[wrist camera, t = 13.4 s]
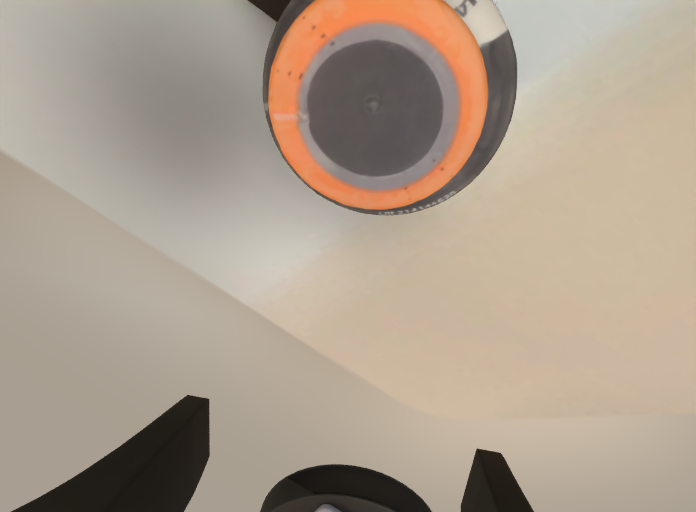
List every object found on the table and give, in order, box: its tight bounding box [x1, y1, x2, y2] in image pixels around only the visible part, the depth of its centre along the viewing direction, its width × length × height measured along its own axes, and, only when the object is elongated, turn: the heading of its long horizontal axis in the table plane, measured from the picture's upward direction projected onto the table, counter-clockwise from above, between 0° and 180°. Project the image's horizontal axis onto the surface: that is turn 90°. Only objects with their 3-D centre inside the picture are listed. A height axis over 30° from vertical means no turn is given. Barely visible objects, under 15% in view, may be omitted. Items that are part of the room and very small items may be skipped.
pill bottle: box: [263, 0, 517, 215], centre depth 14 cm, size 6×6×11 cm
